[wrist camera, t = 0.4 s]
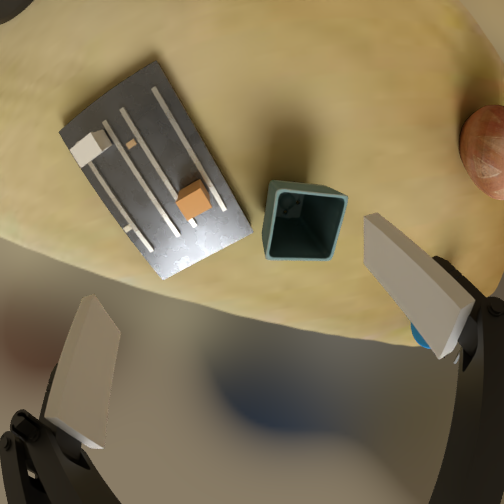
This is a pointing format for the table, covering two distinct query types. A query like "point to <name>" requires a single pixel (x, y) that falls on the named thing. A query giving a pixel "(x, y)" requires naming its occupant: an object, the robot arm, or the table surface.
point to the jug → (485, 149)
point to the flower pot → (302, 221)
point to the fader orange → (193, 200)
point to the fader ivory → (90, 147)
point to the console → (156, 172)
